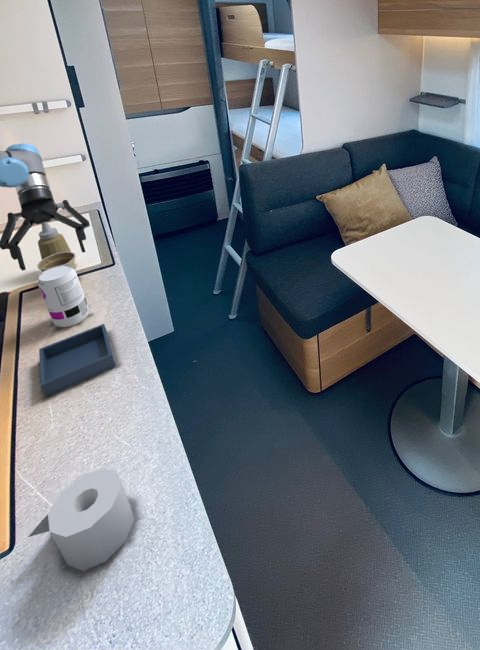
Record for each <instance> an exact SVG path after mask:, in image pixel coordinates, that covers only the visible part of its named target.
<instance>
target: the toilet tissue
mask: <svg viewBox="0 0 480 650" xmlns="http://www.w3.org/2000/svg"><path fill="white" fill-rule="evenodd" d="M134 522H135V517H134V513H133V510H132V506H131V503H130V501H129V498H128V496H127V492H126V490H125V488H124V486H123V483H122V481H121V478H120V475H119V472H118V471H115V470H111V469H107V468H104V467H101V468H98V469H95V470H92V471H89V472H86V473H83V474H81V475H79V476H78V477H77V478H76V479H75V480H74V481H72V482H71V483H69V484H68V485H67V486H66V487H65V488H64V489H63V490H62V491H60V492H59V494H58V496H57V497H56V499H55V501H54V502H53V504H52V506H51V508H50V509H49V511H48V512H47V514H46V515H45V516H44V518H43V519H42V520H41V521H40V522H39V523H38V524H37V526H36V527H35V528H34V529H33V530H32V532H31V533H29V535H28V536H27V537H28V538H29V537H34V536H38V535H41V534H44V533H48V532H49V533H50V535H51V537H52V539H53V541H54V543H55V544H56V546H57V548H58V550H59V552H60V553H61V556H62V557H63V559H64V561H65V563H66V565H67V566H68V567H72V568H74V569H77V570H80V571H83V572H84V571H85V572H86V571H87V570H89V569H92V568H94V567H97V566H98V565H101V564H103V563H106V562H107V561H108V560H109V559H110V558H111V557H112V556H113V555H114V554H115V553H116V552H117V551H118V550H119V549H120V548H121V547H122V546H123V545H124V544H125V543H126V542H127V539H128V537H129V534H130V532H131V530H132V527H133V525H134Z"/></svg>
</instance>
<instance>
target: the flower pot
mask: <svg viewBox="0 0 480 650" xmlns="http://www.w3.org/2000/svg"><path fill="white" fill-rule="evenodd" d="M76 257H77V256H76V253H75V252H73V251H71V252H61V253H56V254H53V255H51V256H48V257H46V258H44V259H43V260H42V259H41V260H40V261H39V262H38V263H37V265H36V266H37V269H38V270H40V271H41V273H43V272H44V271H46V270H48V269H50V268H53V267H56V266H61V265H68V266H71V268H73V269H74V270H75V271H76V272H77V269H76V264H75V262H76Z"/></svg>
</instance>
